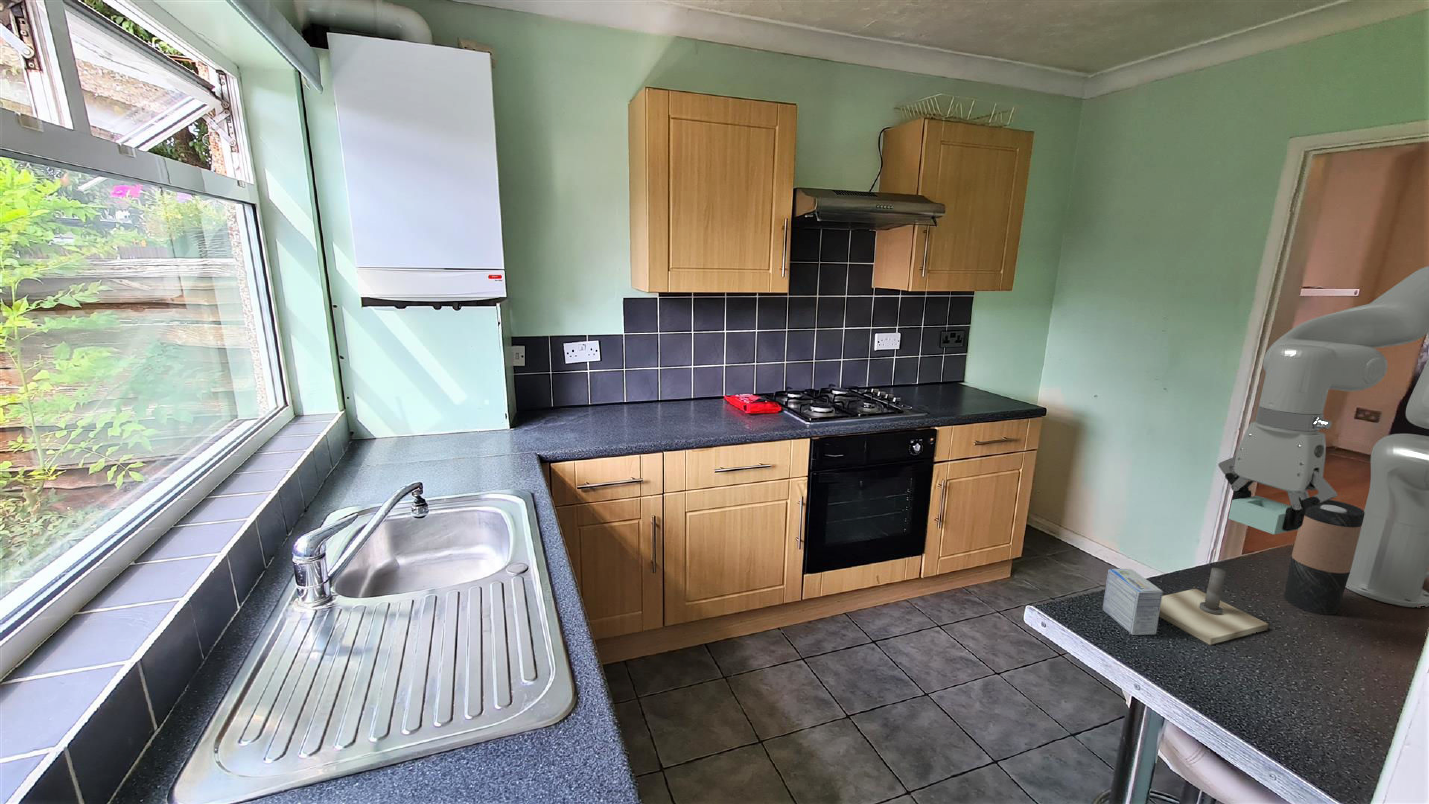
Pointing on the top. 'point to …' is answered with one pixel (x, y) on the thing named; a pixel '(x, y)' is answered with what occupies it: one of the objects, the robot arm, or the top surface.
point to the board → (1208, 613)
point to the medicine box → (1132, 601)
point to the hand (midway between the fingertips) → (1263, 519)
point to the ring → (1259, 513)
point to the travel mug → (1323, 556)
